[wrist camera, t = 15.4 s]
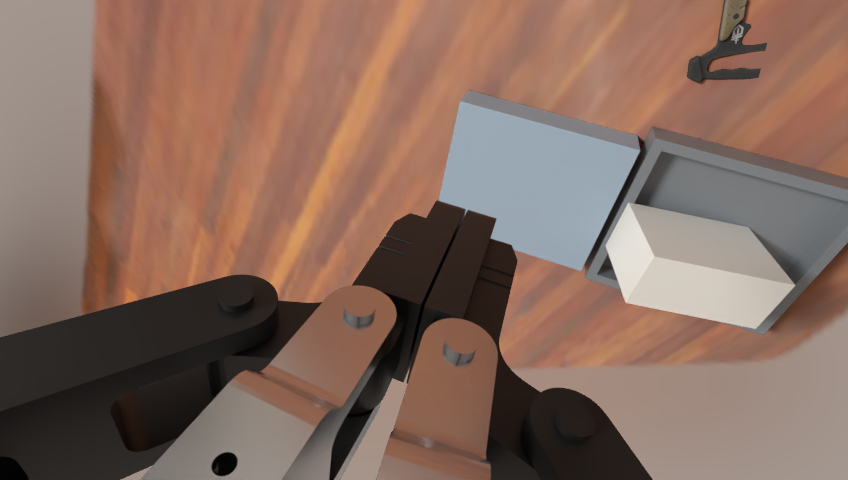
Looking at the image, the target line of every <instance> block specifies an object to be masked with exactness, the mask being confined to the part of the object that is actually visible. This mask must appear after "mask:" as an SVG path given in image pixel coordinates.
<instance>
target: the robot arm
mask: <svg viewBox="0 0 848 480" xmlns="http://www.w3.org/2000/svg"><path fill="white" fill-rule="evenodd" d="M465 212H466V209H464V208H461V207H457V206H454V205H451V204H448V203H444V202H441V201H438V200H437V201H436V202H435V204H434V206H433V208H432V209H431V211H430V213H429V214H428V216H427V218H424V217H421V216H418V215H414V214H411V213H410V214H408V215H406V216H404V217H403V218H401V219H399V220H397V221H395V222H394V224H393V225H392V227H391V228H390V230H389V231H388V233H387V234H386V237H384V239H383V240H382V242H381V243H380V244H379V247H377V249H376V250H375V252H374V253H373V255H372V256H371V258H370V259H369V261H368V262H367V264H366V265H365V267H364V268H363V270H362V271H361V273H360V274H359V276H358V277H357V278H356V280H355V281H354V283H353V284H352V286H347V287H343V288H340V289H338V290H336V291H334V292H332V293H331V294H330V295H329V296H328V297H327V298H326V299H325V300H324V301H323V302H320V303H301V302H288V301H278V296H277V292H276V290H275V288H274V287H273V286H272V285H271V284H270V283H269V282H267V281H266V280H264V279H262V278H259V277H256V276H252V275H232V276H227V277H223V278H219V279H216V280H212V281H208V282H205V283H201V284H197V285H193V286H190V287H186V288H182V289H179V290H175V291H171V292H167V293H164V294H160V295H156V296H153V297H149V298H145V299H141V300H138V301H134V302H130V303H127V304H123V305H119V306H115V307H112V308H108V309H104V310H101V311H97V312H93V313H90V314H86V315H82V316H78V317H75V318H71V319H68V320H64V321H60V322H56V323H52V324H49V325H45V326H41V327H38V328H34V329H30V330H26V331H23V332H19V333H15V334H12V335H8V336H4V337H1V338H0V480H120V479H123V478H125V477H127V476H129V475H132V474H134V473H136V472H139V471H141V470H143V469H145V468H148V467H150V466H152V465H153V466H152V467H151V468H150V469H149V470H148V471H147V473H146V474H145V475H144V476H143V477H142V478H141V479H140V480H340V479H341V478H342V476H343V474H344V472H345V470H346V469H347V467H348V465H349V463H350V461H351V459H352V458H353V456H354V454H355V452H356V450H357V449H358V447H359V445H360V443H361V441H362V439H363V438H364V436H365V434H366V432H367V430H368V429H369V427H370V425H371V423H372V421H373V419H374V418H375V416H376V414H377V412H378V410H379V408H380V403H381V401H382V399H383V397H384V396H385V393H386V391H387V389H388V387H389V384H390V382H391V380H392V378H394V379H396V380H399V381H401V382H404V380H405V377H406V375H407V373H408V370H409V368H410V370H409V374H408V379H407V384H408V385H407V388H406V391H405V394H404V397H403V401H402V404H401V407H400V411H399V414H398V417H397V420H396V423H395V426H394V429H393V431H392V432H391V434H390V438H389V440H388V443H387V446H386V449H385V453H384V456H383V459H382V462H381V465H380V468H379V471H378V474H377V478H376V480H652V478H651V477H650V476H649V474H648V473H647V471H646V470H645V468H644V467H643V466H642V464H641V463H640V461H639V460H638V459H637V457H636V456H635V454H634V453H633V451H632V450H631V449H630V447H629V446H628V444H627V443H626V442H625V440H624V439H623V438H622V436H621V435H620V433H619V432H618V430H617V429H616V428H615V426H614V425H613V423H612V422H611V421H610V419H609V418H608V416H607V415H606V414H605V413H604V411H603V410H602V409H601V408H600V407H599V406H598V405H597V404H596V403H595V402H593V401H592V400H591V399H590V398H588V397H586V396H585V395H583V394H581V393H579V392H577V391H574V390H570V389H565V388H551V389H547V390H545V391H543V392H539V391H538V390H536V389H535V388H533V387H532V386H530V385H529V384H528V383H526V382H525V381H523V380H522V379H521V378H519V377H518V376H517V375H516V374H515V373H514V372H513V371H512V370H511V369H510V368H509V367H508V366H507V364H506V363H505V361H504V359H503V357H502V355H501V352H500V348H499V337H500V333H501V328H502V324H503V320H504V316H505V311H506V307H507V303H508V299H509V294H510V289H511V286H512V282H513V277H514V273H515V269H516V265H517V258H516V255H515V253H514V250H513V247H512V245H510V244H507V243H504V242H500V241H497V240H494V239H491V235H492V232H493V229H494V226H495V223H496V219H497V218H493V217H490V216H487V215H484V214H480V213H477V212H474V211H471V210H468V211H467V212H466V215H465ZM410 365H411V366H410ZM193 368H194V369H193ZM154 382H155V383H154ZM140 387H141V388H140Z"/></svg>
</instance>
